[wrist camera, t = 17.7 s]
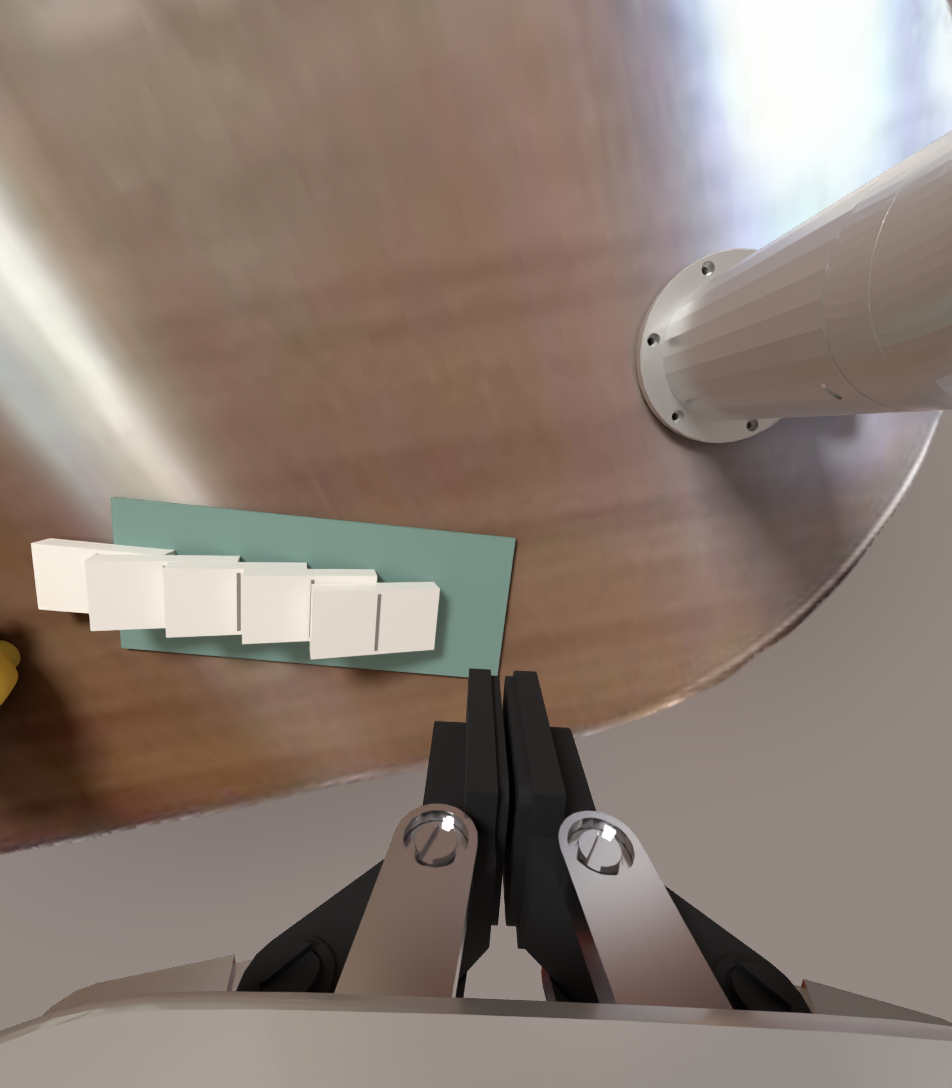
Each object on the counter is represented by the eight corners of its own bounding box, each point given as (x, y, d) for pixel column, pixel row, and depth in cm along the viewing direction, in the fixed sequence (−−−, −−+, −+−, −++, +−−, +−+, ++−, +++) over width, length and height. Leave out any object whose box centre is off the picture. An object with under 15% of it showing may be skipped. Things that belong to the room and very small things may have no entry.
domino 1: (161, 555, 33) (30, 543, 33) (164, 620, 34) (38, 609, 34) (175, 550, 35) (50, 538, 34) (178, 611, 36) (57, 601, 35)
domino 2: (237, 561, 34) (84, 560, 30) (237, 625, 35) (90, 631, 32) (240, 555, 35) (94, 553, 32) (240, 616, 36) (100, 621, 33)
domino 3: (307, 569, 34) (162, 568, 31) (305, 631, 35) (165, 637, 32) (306, 562, 35) (169, 561, 32) (305, 622, 37) (171, 627, 33)
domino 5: (440, 588, 35) (312, 592, 31) (434, 649, 36) (310, 659, 32) (433, 581, 36) (311, 584, 32) (428, 640, 37) (309, 648, 34)
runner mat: (515, 537, 36) (515, 538, 35) (496, 677, 39) (496, 679, 38) (114, 497, 34) (110, 497, 34) (125, 645, 37) (121, 648, 37)
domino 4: (377, 575, 34) (241, 575, 31) (373, 638, 35) (241, 644, 32) (374, 569, 36) (244, 568, 32) (370, 628, 37) (244, 634, 34)
